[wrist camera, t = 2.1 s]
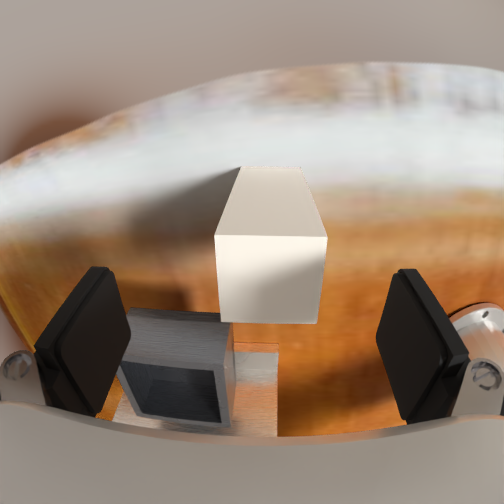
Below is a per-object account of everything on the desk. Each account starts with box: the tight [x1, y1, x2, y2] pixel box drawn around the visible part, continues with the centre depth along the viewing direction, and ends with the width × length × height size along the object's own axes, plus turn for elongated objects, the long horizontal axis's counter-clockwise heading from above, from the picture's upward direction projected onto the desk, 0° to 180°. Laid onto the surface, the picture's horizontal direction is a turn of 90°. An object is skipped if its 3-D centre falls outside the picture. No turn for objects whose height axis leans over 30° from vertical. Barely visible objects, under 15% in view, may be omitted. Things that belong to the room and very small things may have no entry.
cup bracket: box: [112, 307, 279, 437], centre depth 21 cm, size 14×14×16 cm
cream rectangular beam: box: [214, 166, 327, 324], centre depth 17 cm, size 4×4×11 cm
